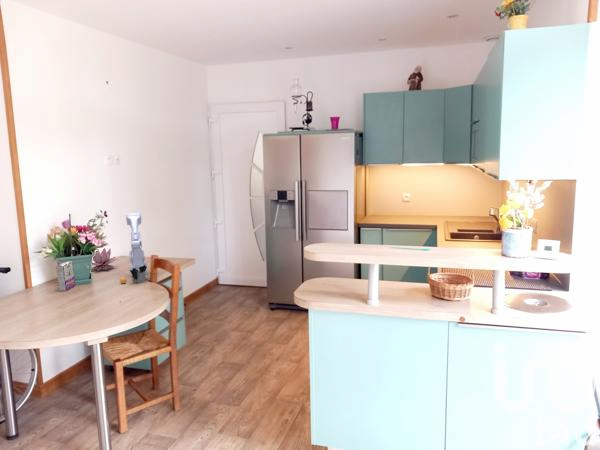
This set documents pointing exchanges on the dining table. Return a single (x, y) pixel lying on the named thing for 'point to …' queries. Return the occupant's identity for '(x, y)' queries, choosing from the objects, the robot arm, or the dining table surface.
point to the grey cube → (139, 277)
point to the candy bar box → (65, 276)
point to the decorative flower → (103, 260)
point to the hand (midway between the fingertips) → (139, 278)
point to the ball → (123, 280)
